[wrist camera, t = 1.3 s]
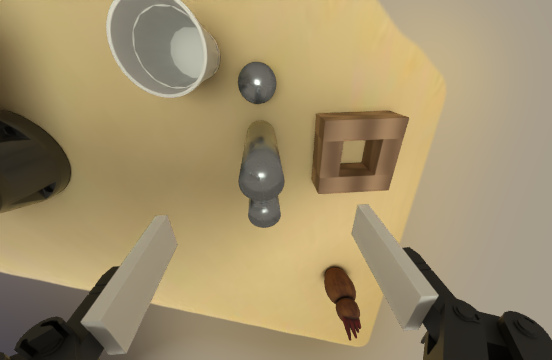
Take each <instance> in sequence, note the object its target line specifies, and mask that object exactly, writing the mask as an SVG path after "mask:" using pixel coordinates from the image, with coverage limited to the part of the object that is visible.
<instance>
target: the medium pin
mask: <svg viewBox="0 0 552 360" xmlns="http://www.w3.org/2000/svg"><path fill="white" fill-rule="evenodd" d="M280 216H281V213H280V206H279V198H278V195H277V196H276V197H275V198H273V199H271V200H267V201H256V200H252V199H249V212H248V217H249V220H250V222H251V223H252V224H254V225H255V226H257V227H262V228H266V227H271V226H273V225H275V224H276V223H277V222H278V221H279V219H280Z"/></svg>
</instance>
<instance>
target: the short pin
mask: <svg viewBox="0 0 552 360" xmlns="http://www.w3.org/2000/svg"><path fill="white" fill-rule="evenodd" d="M238 86H239V90H240V92H241V94H242V96H243V97H244V98H245V99H246V100H248V101H249V102H251V103H255V104H261V103H265V102H267V101H268V100H269V99H270V98H271V97H272V96H273V94H274V92H275V90H276V78H275V75H274V73H273V71H272V70H271V68H270V67H269V66H267V65H266V64H264V63H261V62H252V63H249V64H247V65H246V66H245V67H244V68H243V69H242V70H241V72H240V74H239V78H238Z"/></svg>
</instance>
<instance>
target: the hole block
mask: <svg viewBox="0 0 552 360" xmlns="http://www.w3.org/2000/svg"><path fill="white" fill-rule="evenodd" d="M408 120H409V117H406V116H403V115H400V114H397V113H394V112H391V111H374V112H346V113H317V114H316V128H315V142H314V155H313V169H312V181H313V183H314V186H315V188H316V190H317V192H318V194H329V193H347V192H365V191H384V190H389V187H390V183H391V180H392V176H393V173H394V169H395V166H396V162H397V159H398V155H399V152H400V148H401V145H402V141H403V138H404V134H405V131H406V127H407V124H408ZM355 140H366V143H365V148H364V153H363V158H362V163H345V164H340V162H341V155H342V148H343V141H355Z"/></svg>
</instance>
